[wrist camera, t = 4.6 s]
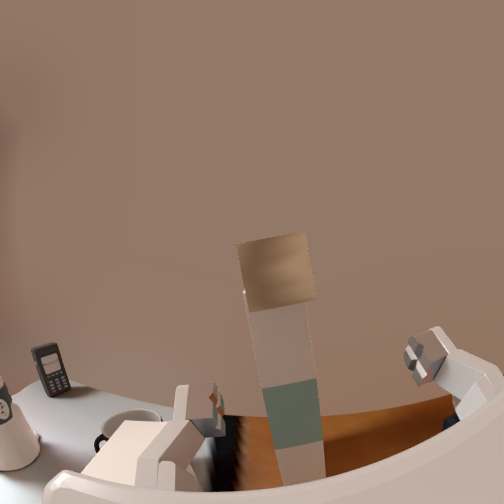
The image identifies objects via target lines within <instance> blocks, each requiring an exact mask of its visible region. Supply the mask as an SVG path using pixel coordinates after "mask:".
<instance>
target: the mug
mask: <svg viewBox="0 0 504 504" xmlns="http://www.w3.org/2000/svg"><path fill="white" fill-rule="evenodd" d="M125 420H130V421H152V422H163V420H162V418H161V416H160V415H159V414H158V413H157V412H155V411H153V410H149V409H132V410H127V411H123V412H120V413H117V414H115V415H113V416H111V417H110V418H108V419H107V420H106V421H105V422H104V423H103V425H102V433H103V434H101V435H100V436H98V437H97V438H96V440H95V443H94V447H95V451H96V453H98V452H99V451H100V448H99V443H100V442H101V441H102V440H106V442H107V441H108V440H109V439H110V437H111V436H112V435H113V434H114V433H115V431H116V430H117V429H118V428H119V427H120V425H121V424H122V423H123V422H124V421H125Z"/></svg>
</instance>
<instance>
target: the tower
mask: <svg viewBox="0 0 504 504" xmlns="http://www.w3.org/2000/svg"><path fill="white" fill-rule="evenodd" d="M243 297H244V302H245V308H246V313H247V317H248V323H249V328H250V333H251V338H252V343H253V348H254V353H255V358H256V363H257V368H258V373H259V378H260V383H261V387H262V392H263V397H264V402H265V406H266V411H267V416H268V421H269V425H270V430H271V434H272V439H273V443H274V448H275V452H276V457H277V461H278V466H279V470H280V475H281V479H282V483H283V486H289V485H295V484H300V483H305V482H310V481H315V480H319V479H323V478H326V472H325V459H324V447H323V436H322V425H321V416H320V407H319V398H318V390H317V381H316V374H315V365H314V358H313V351H312V344H311V337H310V330H309V324H308V317H307V311H306V305H305V302H303V303H298V304H293V305H288V306H283V307H278V308H272V309H267V310H262V311H256V312H251V313H249V309H248V304H247V298H246V293H245V289H244V292H243Z"/></svg>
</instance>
